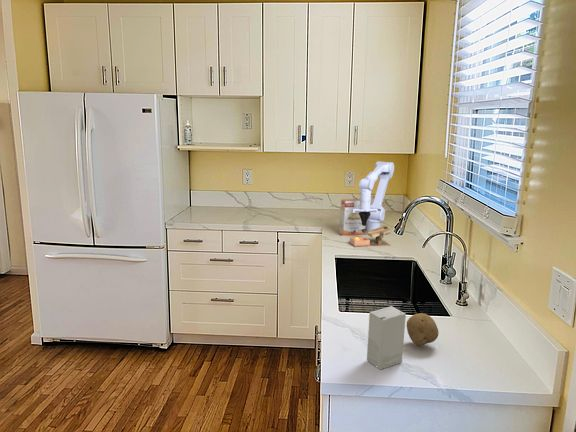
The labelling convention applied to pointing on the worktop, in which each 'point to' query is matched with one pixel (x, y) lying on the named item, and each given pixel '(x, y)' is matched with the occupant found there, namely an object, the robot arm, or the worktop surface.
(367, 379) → the worktop surface
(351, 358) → the worktop surface
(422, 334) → the potato
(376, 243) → the stand
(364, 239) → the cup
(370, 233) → the lever
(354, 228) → the cracker box
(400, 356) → the skincare box
